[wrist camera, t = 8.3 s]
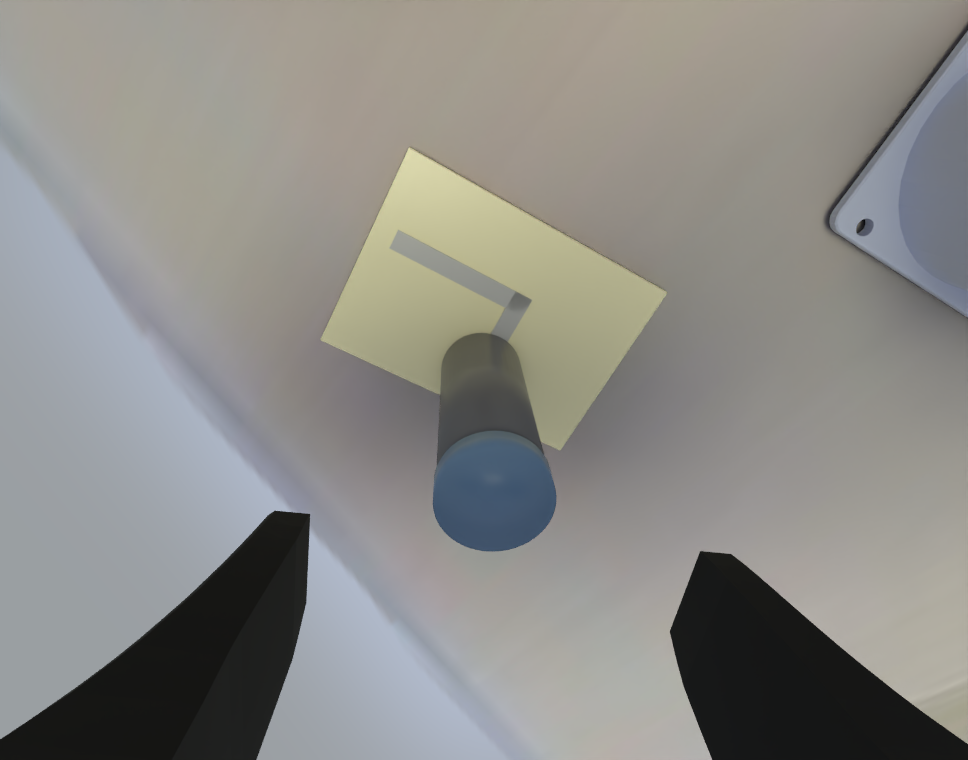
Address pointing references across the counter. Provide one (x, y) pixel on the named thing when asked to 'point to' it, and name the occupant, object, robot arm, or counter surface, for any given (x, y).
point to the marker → (489, 449)
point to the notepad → (488, 294)
